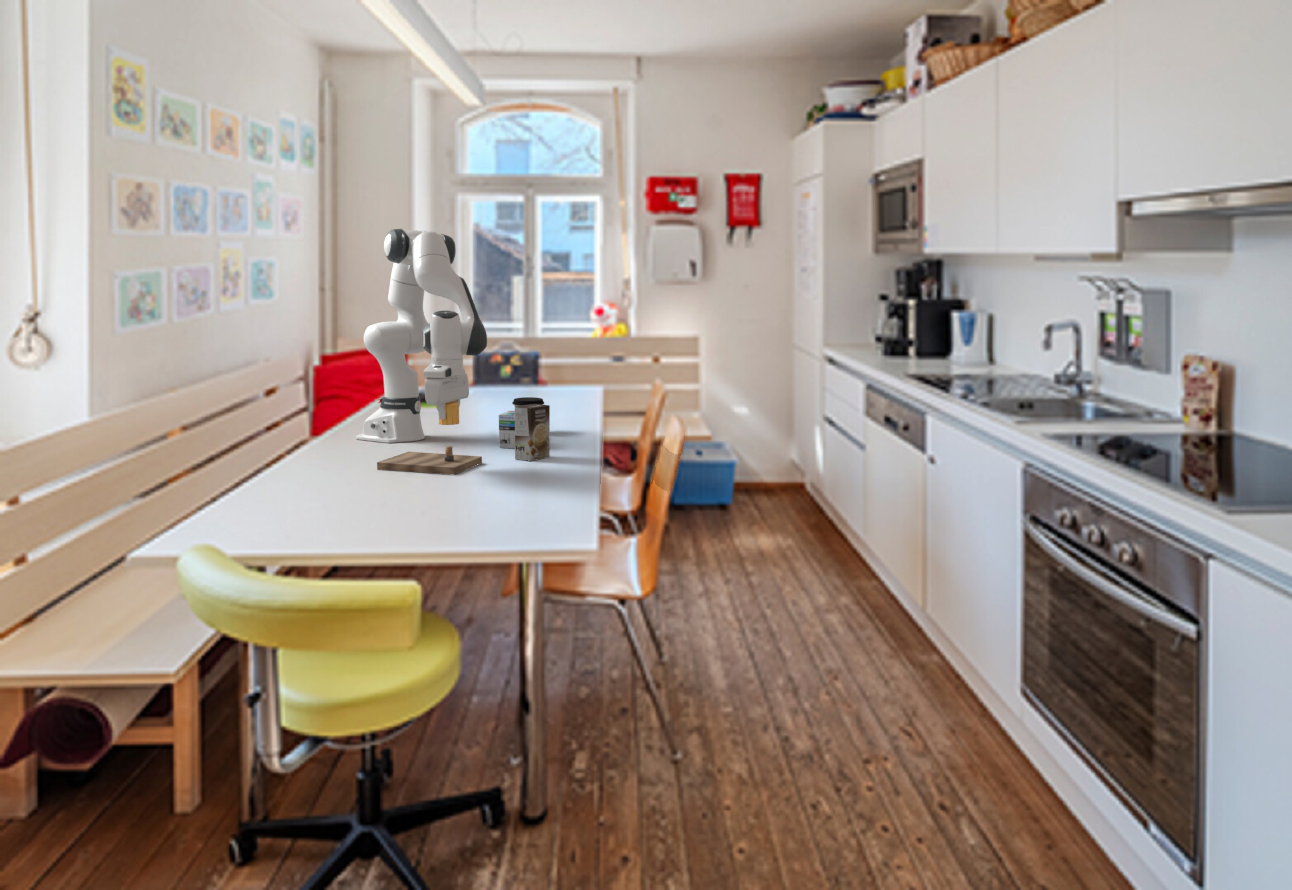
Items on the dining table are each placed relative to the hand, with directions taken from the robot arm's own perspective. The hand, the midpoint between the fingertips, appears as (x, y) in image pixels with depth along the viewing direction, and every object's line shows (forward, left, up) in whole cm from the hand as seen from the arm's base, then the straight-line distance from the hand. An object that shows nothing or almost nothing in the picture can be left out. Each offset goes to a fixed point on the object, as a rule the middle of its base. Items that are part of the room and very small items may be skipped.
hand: (448, 417), depth 292 cm
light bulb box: (+3, +39, -15) cm, 42 cm away
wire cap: (0, 0, -2) cm, 2 cm away
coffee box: (+17, +21, -15) cm, 31 cm away
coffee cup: (-2, +63, -15) cm, 65 cm away
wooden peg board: (-6, 0, -15) cm, 16 cm away
